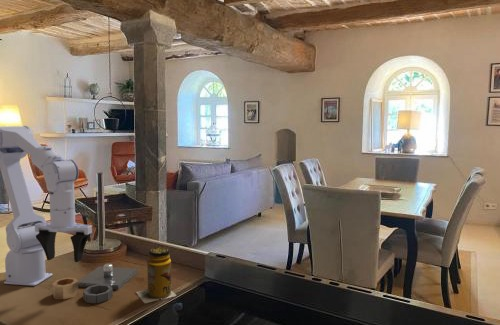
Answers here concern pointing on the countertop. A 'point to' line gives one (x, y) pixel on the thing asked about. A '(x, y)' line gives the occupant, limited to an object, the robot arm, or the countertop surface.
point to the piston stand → (108, 276)
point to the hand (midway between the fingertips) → (64, 259)
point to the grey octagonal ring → (92, 297)
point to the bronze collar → (65, 288)
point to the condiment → (158, 276)
